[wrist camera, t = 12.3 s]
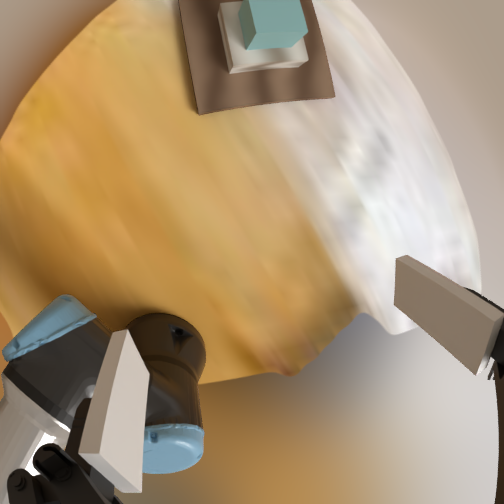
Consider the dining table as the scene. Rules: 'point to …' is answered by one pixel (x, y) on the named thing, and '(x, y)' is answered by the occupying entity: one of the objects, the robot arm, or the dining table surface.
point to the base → (250, 82)
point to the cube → (271, 23)
